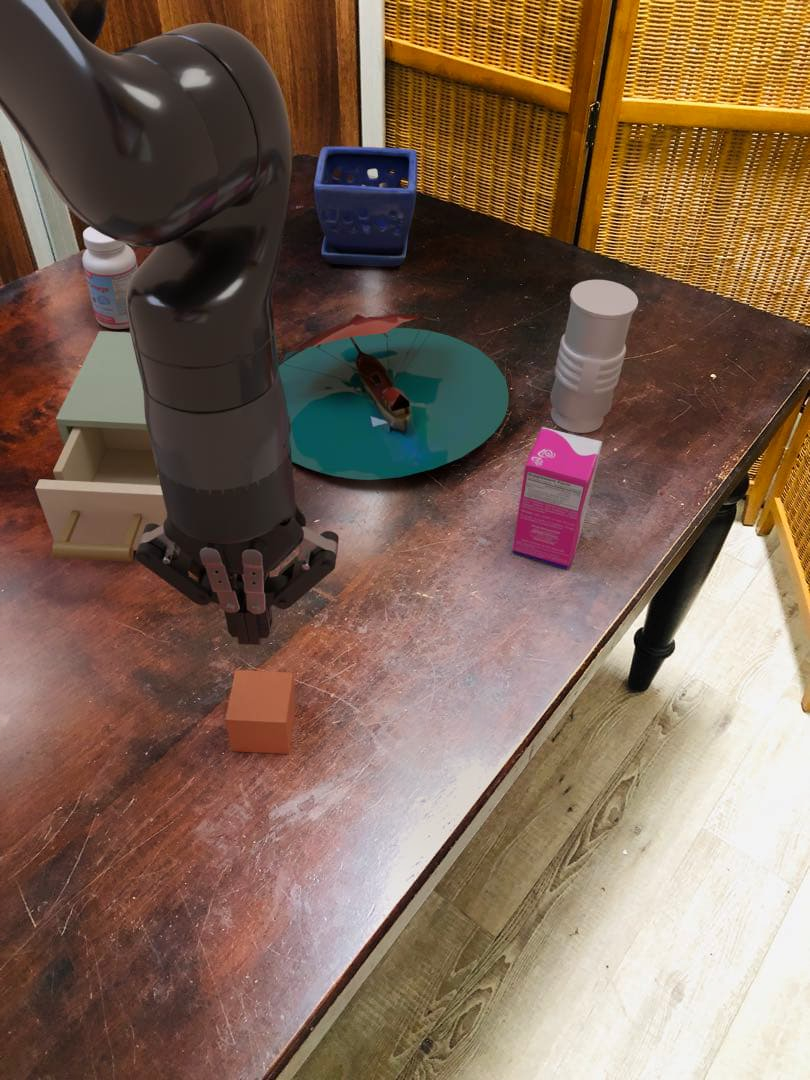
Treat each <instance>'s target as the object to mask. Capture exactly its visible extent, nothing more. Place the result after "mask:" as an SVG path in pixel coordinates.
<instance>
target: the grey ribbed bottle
mask: <svg viewBox="0 0 810 1080" xmlns="http://www.w3.org/2000/svg"><path fill="white" fill-rule="evenodd" d="M569 301H570V307H569V311H568V316H567V321H566V326H565V332H564V333H563V335H562V336H561V338H560V341H559V348H558V351H557V358H556V363H555V364H556V365H555V368H554V377H555V379H554V382H553V385H552V388H551V393H550V395H549V401H550V403H551V406H552V408H551V411H550V416H551V419H552V421H553V422H554V423H555V424H556V425H557V426H559V427H560V428H562V429H563V430H566V431H568V432H572V433H578V434H585V433H591V432H595V431H597V430H599V429H600V428H602V427H601V426H603V424H604V417H605V416H606V415H608V414H609V412H610V411H611V408H612V405H613V404H612V403H613V397H614V390H615V388H616V387H617V385H618V384H619V380H620V376H621V372H622V367H623V364H624V360H625V357H626V353H627V346H626V340H627V336H628V333H629V328H630V325H631V321H632V318H633V314H634V313H635V311H637V308H638V304H639V299H638V296H637V295H636V293H635V292H634V291H633V290H632V289H630V288H629V287H627V286H626V285H623V284H621V283H618V282H616V281H612V280H607V279H589V280H584V281H580V282H578V283H577V284H575V285H574V286H573V287H572V288H571V291H570V293H569Z"/></svg>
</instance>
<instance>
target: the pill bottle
mask: <svg viewBox="0 0 810 1080" xmlns="http://www.w3.org/2000/svg"><path fill="white" fill-rule="evenodd" d="M82 237H83V243H84V246H85V248H86V249H85V250H84V252H83V254H82V259H81V260H82V266H83V270H84V274H85V278H86V283H87V287H88V291H89V295H90V300H91V304H92V308H93V313H94V317H95V319H96V321H97V323H98V324H99V325H100V326H102V327H105V328H106V329H110V330H126V329H129V324H128V319H127V313H126V304H125V298H126V291H127V287H128V284H129V281H130V279H131V277H132V276H133V274H134V273H135V271H136V270H137V269H138V268H139V266H138V260H137V256H136V253H135V251H134V250H133V249H132V247H130V245H129V244H126V243H123V242H120V241H117V240H114V239H112V238H110V237H108V236H106V235H103V234H101V233H100V232H98V231H97V230H95V229H93V228H92V227H90V226H89V227H86V228H85V229H84V230H83V232H82Z"/></svg>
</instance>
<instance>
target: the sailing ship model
mask: <svg viewBox="0 0 810 1080" xmlns="http://www.w3.org/2000/svg"><path fill="white" fill-rule="evenodd" d="M417 319H419V320H423V322H422V324H421V326H420V328H408V327H398V326H399V325H401V324H403V323H406V322H410V321H414V320H417ZM426 320H427V321H428V320H429V321H433V322H437V323H435V325H434V326H433V329H432V330H428V329H422V327H423V326H424V323H425V321H426ZM440 322H441V319H437V318H431V317H426V316H423V315H415V314H414V315H413V314H398V313H395V314H394V313H390V314H389V313H388V314H381V315H373V316H368V317H365V316H363V315H360V314H357V313H356V314H355V315H354V316H353V317H352V318H351V319H350V320H349V321H348V322H346V323H340V324H337V325H336V326H333V327H331V328H327V329H324V330H323V331H320V332H318V333H316V334H314V335H312V336H310V337H308V338H305V339H304V340H303V341H302V342H300V343H299V344H298V345H296V346H295V347H294V348H292V349H291V350H290V351H287V352H286V353H285V355H284V356H283V358H282V360H281V361H280V362H278V363H279V373H280V377H281V381H282V385H283V389H284V393H285V397H286V404H287V411H288V415H289V417H290V423H291V433H290V445H291V457H292V463H294V464H297V465H299V466H301V467H304V468H306V469H310V470H312V471H315V472H318V473H321V474H325V475H328V476H333V477H338V478H344V479H350V480H365V481H372V480H384V479H393V478H402V477H406V476H411V475H414V474H415V475H416V474H419V473H422V472H426V471H431V470H434V469H436V468H437V469H438V468H439V467H442V466H444V465H446V464H449V463H452V462H454V461H457V460H459V459H461V458H463V457H465V456H466V455H468V454H469V453H471V452H472V451H474V450H476V449H477V448H479V447H480V446H481V445H483V444H484V443H485V442H486V441H487V440H488V439H489V438H490V437H491V436H493V434H495V433H496V431H497V430H498V428H499V427H500V426H501V425H502V423H503V421H504V419H505V417H506V414H507V411H508V408H509V399H510V397H509V396H510V394H509V388H508V384H507V379H506V377H505V376H504V374H503V373H502V371H501V370H500V368H499V367H498V366H497V364H496V363H495V362H494V361H493V360H492V359H491V358H490V357H489V356H487V354H485V353H484V352H483V351H482V350H481V349H479V348H477V347H475V346H473V345H471V344H469V343H467V342H466V341H463V340H461V339H458V338H456V337H453V336H451V335H448V334H444V333H440V332H437V331H434V329H435V328H436V326H437V325H438V323H440ZM299 350H301V351H299ZM298 351H299V352H298ZM297 352H298V353H297Z"/></svg>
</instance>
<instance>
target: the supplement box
mask: <svg viewBox="0 0 810 1080" xmlns="http://www.w3.org/2000/svg"><path fill="white" fill-rule="evenodd" d="M602 446H603V441H601V440H597V439H593V438H589V437H584V436H580V435H576V434H571V433H567V432H564V431H560V430H556V429H553V428H548V427H545V426H542V427H541V429H540V431H539V434H538V435H537V437H536V440H535V442H534V444H533V446H532V448H531V451H530V452H529V453H530V454H529V455H528V458H527V460H526V462H525V465H524V470H523V471H524V472H523V478H522V485H521V491H520V498H519V504H518V510H517V517H516V523H515V529H514V530H515V531H514V537H513V543H512V548H511V549H512V550H511V553H512V554H514V555H517V556H521V557H524V558H529V559H531V560H535V561H537V562H541V563H545V564H547V565H551V566H554V567H558V568H561V569H563V570H567V571H568V570H570V568H571V565H572V563H573V561H574V558H575V555H576V552H577V550H578V547H579V544H580V541H581V537H582V534H583V531H584V524H585V520H586V515H587V511H588V507H589V502H590V499H591V494H592V490H593V485H594V481H595V477H596V472H597V469H598V468H597V467H598V463H599V459H600V454H601V450H602Z"/></svg>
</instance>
